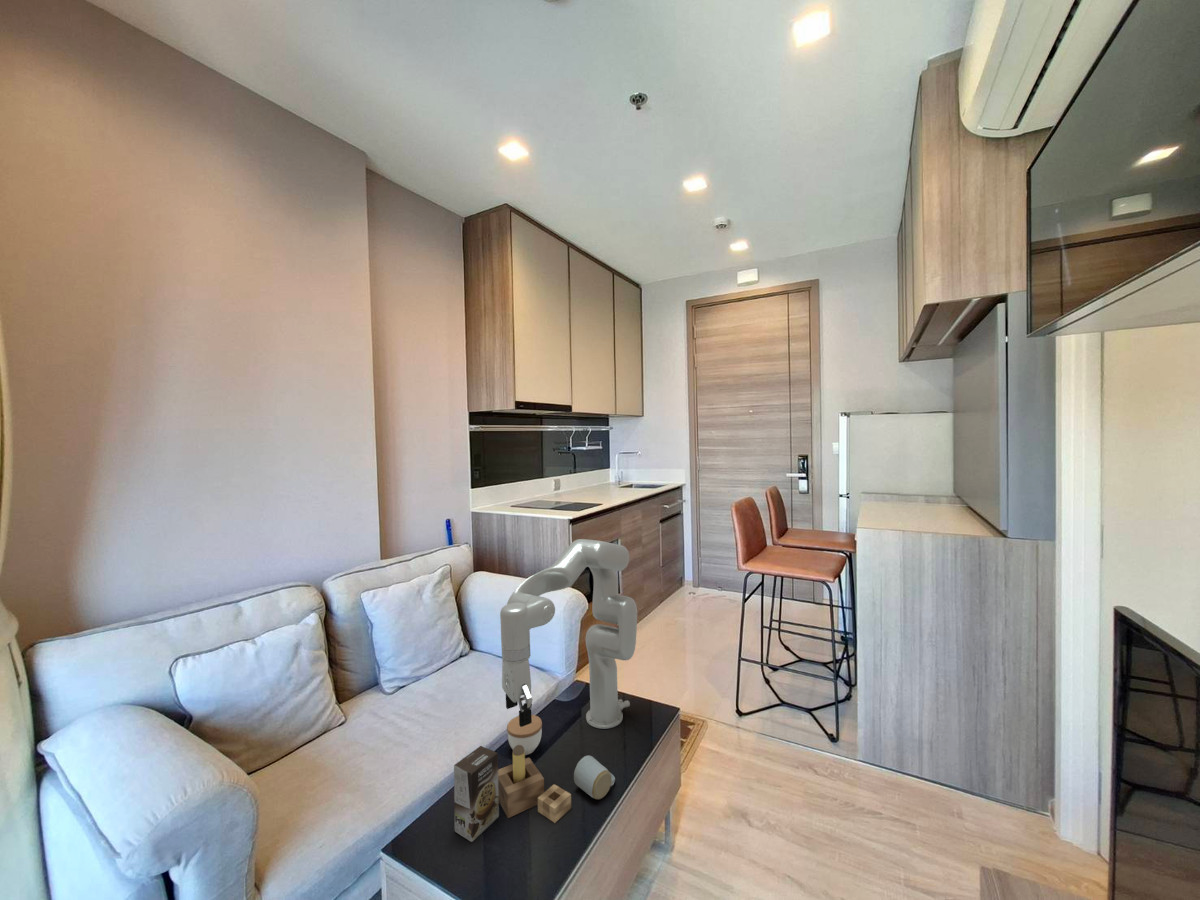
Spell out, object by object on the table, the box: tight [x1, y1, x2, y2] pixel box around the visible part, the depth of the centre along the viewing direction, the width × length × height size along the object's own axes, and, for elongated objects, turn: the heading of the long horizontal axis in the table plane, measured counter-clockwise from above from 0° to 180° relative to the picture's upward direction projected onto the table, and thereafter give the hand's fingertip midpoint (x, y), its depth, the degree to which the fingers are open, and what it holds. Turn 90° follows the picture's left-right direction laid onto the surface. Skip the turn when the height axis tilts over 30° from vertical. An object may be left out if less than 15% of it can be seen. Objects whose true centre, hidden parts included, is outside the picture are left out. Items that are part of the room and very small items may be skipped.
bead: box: [498, 757, 545, 819], centre depth 121 cm, size 10×10×6 cm
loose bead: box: [537, 784, 572, 824], centre depth 116 cm, size 6×6×4 cm
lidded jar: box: [506, 714, 543, 756], centre depth 141 cm, size 11×11×9 cm
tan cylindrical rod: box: [512, 745, 526, 784], centre depth 121 cm, size 3×3×14 cm
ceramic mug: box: [573, 755, 616, 800], centre depth 123 cm, size 11×8×8 cm
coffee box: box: [453, 745, 500, 843], centre depth 112 cm, size 9×6×16 cm
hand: (518, 715), depth 121 cm, fingers open, 9 cm apart
